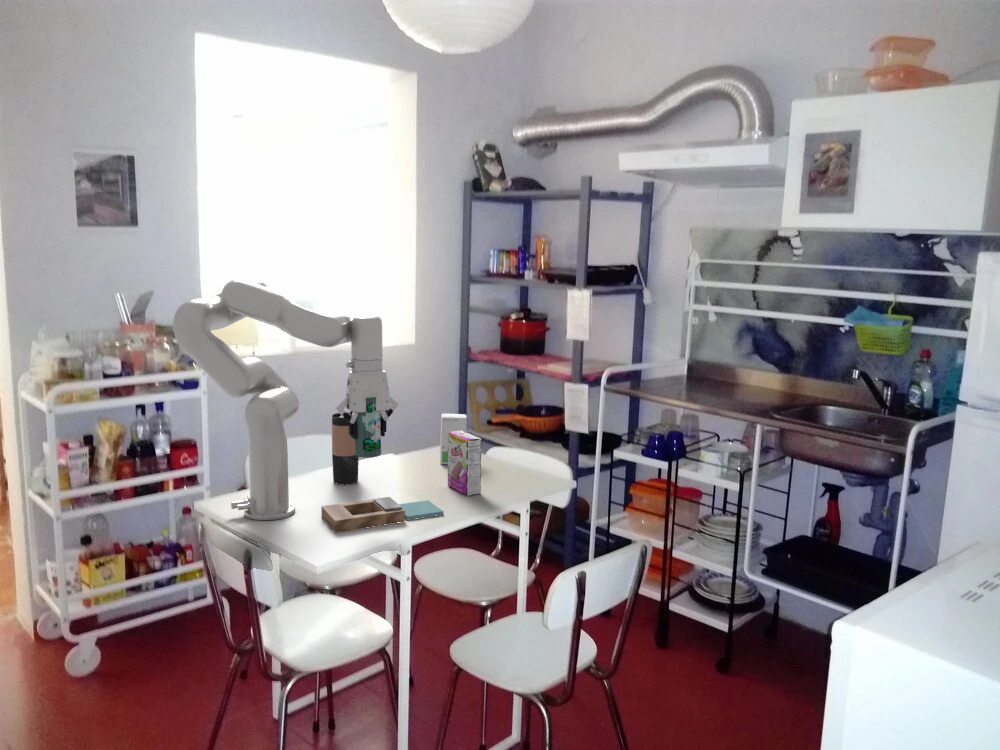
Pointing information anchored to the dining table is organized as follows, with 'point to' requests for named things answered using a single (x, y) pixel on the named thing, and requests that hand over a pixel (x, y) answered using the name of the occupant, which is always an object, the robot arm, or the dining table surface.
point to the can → (368, 431)
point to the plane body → (362, 514)
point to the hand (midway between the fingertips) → (367, 436)
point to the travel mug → (343, 452)
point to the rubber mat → (420, 509)
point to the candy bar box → (464, 462)
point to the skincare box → (448, 425)
